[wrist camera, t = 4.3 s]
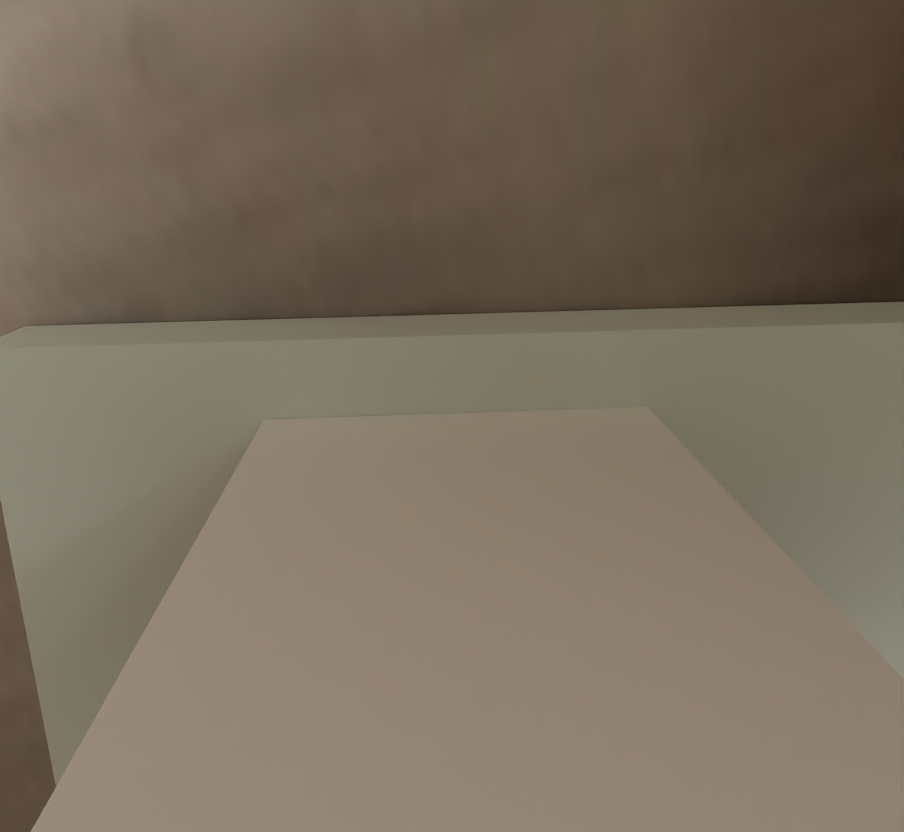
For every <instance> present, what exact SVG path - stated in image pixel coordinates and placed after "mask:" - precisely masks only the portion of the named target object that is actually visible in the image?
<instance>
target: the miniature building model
mask: <svg viewBox="0 0 904 832" xmlns="http://www.w3.org/2000/svg"><path fill="white" fill-rule="evenodd" d="M633 407H648V408H649V409H650V410H651V411H652V413H653V414H654V415H655V416H656V417H657V418H658V419H659V420H660V421H661V422H662V423H663V424H664V425H665V426H666V427H667V428H668V430H669V431H670V432H671V433H672V434H673V435H674V436H675V437H676V438H677V439H678V440H679V441H680V442H681V443H682V444H683V445H684V446H685V448H686V449H687V450H688V451H689V452H690V453H691V454H692V455H693V456H694V457H695V458H696V459H697V460H698V461H699V462H700V463H701V464H702V466H703V467H704V468H705V469H706V470H707V471H708V472H709V473H710V474H711V475H712V476H713V477H714V478H715V479H716V480H717V481H718V483H719V484H720V485H721V486H722V487H723V488H724V489H725V490H726V491H727V492H728V493H729V494H730V495H731V496H732V497H733V498H734V499H735V501H736V502H737V503H738V504H739V505H740V506H741V507H742V508H743V509H744V510H745V511H746V512H747V513H748V514H749V515H750V516H751V518H752V519H753V520H754V521H755V522H756V523H757V524H758V525H759V526H760V527H761V528H762V529H763V530H764V531H765V532H766V533H767V534H768V536H769V537H770V538H771V539H772V540H773V541H774V542H775V543H776V544H777V545H778V546H779V547H780V548H781V549H782V550H783V551H784V553H785V554H786V555H787V556H788V557H789V558H790V559H791V560H792V561H793V562H794V563H795V564H796V565H797V566H798V567H799V568H800V569H801V571H802V572H803V573H804V574H805V575H806V576H807V577H808V578H809V579H810V580H811V581H812V582H813V583H814V584H815V585H816V586H817V587H818V589H819V590H820V591H821V592H822V593H823V594H824V595H825V596H826V597H827V598H828V599H829V600H830V601H831V602H832V603H833V604H834V606H835V607H836V608H837V609H838V610H839V611H840V612H841V613H842V614H843V615H844V616H845V617H846V618H847V619H848V620H849V621H850V622H851V624H852V625H853V626H854V627H855V628H856V629H857V630H858V631H859V632H860V633H861V634H862V635H863V636H864V637H865V638H866V639H867V641H868V642H869V643H870V644H871V645H872V646H873V647H874V648H875V649H876V650H877V651H878V652H879V653H880V654H881V655H882V656H883V657H884V659H885V660H886V661H887V662H888V663H889V664H890V665H891V666H892V667H893V668H894V669H895V670H896V671H897V672H898V673H899V674H900V676H901V677H902V678H903V679H904V302H877V303H841V304H805V305H769V306H733V307H696V308H660V309H624V310H588V311H552V312H516V313H480V314H443V315H407V316H371V317H335V318H299V319H263V320H227V321H191V322H154V323H118V324H82V325H46V326H24V327H21V328H19V329H17V330H14V331H12V332H10V333H8V334H5V335H3V336H1V337H0V501H1V506H2V512H3V517H4V522H5V527H6V532H7V537H8V543H9V548H10V553H11V558H12V563H13V568H14V573H15V579H16V584H17V589H18V594H19V599H20V604H21V610H22V615H23V620H24V625H25V630H26V635H27V641H28V646H29V651H30V656H31V661H32V666H33V672H34V677H35V682H36V687H37V692H38V697H39V703H40V708H41V713H42V718H43V723H44V728H45V733H46V739H47V744H48V749H49V754H50V759H51V764H52V770H53V775H54V780H55V785H56V786H57V784H58V783H59V781H60V779H61V777H62V776H63V774H64V772H65V770H66V768H67V767H68V765H69V763H70V761H71V760H72V758H73V756H74V754H75V753H76V751H77V749H78V747H79V746H80V744H81V742H82V740H83V738H84V737H85V735H86V733H87V731H88V730H89V728H90V726H91V724H92V723H93V721H94V719H95V717H96V715H97V714H98V712H99V710H100V708H101V707H102V705H103V703H104V701H105V700H106V698H107V696H108V694H109V693H110V691H111V689H112V687H113V685H114V684H115V682H116V680H117V678H118V677H119V675H120V673H121V671H122V670H123V668H124V666H125V664H126V662H127V661H128V659H129V657H130V655H131V654H132V652H133V650H134V648H135V647H136V645H137V643H138V641H139V640H140V638H141V636H142V634H143V632H144V631H145V629H146V627H147V625H148V624H149V622H150V620H151V618H152V617H153V615H154V613H155V611H156V609H157V608H158V606H159V604H160V602H161V601H162V599H163V597H164V595H165V594H166V592H167V590H168V588H169V587H170V585H171V583H172V581H173V579H174V578H175V576H176V574H177V572H178V571H179V569H180V567H181V565H182V564H183V562H184V560H185V558H186V556H187V555H188V553H189V551H190V549H191V548H192V546H193V544H194V542H195V541H196V539H197V537H198V535H199V534H200V532H201V530H202V528H203V526H204V525H205V523H206V521H207V519H208V518H209V516H210V514H211V512H212V511H213V509H214V507H215V505H216V503H217V502H218V500H219V498H220V496H221V495H222V493H223V491H224V489H225V488H226V486H227V484H228V482H229V481H230V479H231V477H232V475H233V473H234V472H235V470H236V468H237V466H238V465H239V463H240V461H241V459H242V458H243V456H244V454H245V452H246V450H247V449H248V447H249V445H250V443H251V442H252V440H253V438H254V436H255V435H256V433H257V431H258V429H259V428H260V426H261V424H262V422H263V420H264V419H293V418H324V417H355V416H386V415H417V414H448V413H479V412H510V411H540V410H571V409H602V408H633Z"/></svg>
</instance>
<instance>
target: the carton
mask: <svg viewBox="0 0 904 832" xmlns="http://www.w3.org/2000/svg"><path fill="white" fill-rule="evenodd" d="M31 832H904V679H903V678H902V677H901V676H900V674H899V673H898V672H897V671H896V670H895V669H894V668H893V667H892V666H891V665H890V664H889V663H888V662H887V661H886V660H885V659H884V657H883V656H882V655H881V654H880V653H879V652H878V651H877V650H876V649H875V648H874V647H873V646H872V645H871V644H870V643H869V642H868V641H867V639H866V638H865V637H864V636H863V635H862V634H861V633H860V632H859V631H858V630H857V629H856V628H855V627H854V626H853V625H852V624H851V622H850V621H849V620H848V619H847V618H846V617H845V616H844V615H843V614H842V613H841V612H840V611H839V610H838V609H837V608H836V607H835V606H834V604H833V603H832V602H831V601H830V600H829V599H828V598H827V597H826V596H825V595H824V594H823V593H822V592H821V591H820V590H819V589H818V587H817V586H816V585H815V584H814V583H813V582H812V581H811V580H810V579H809V578H808V577H807V576H806V575H805V574H804V573H803V572H802V571H801V569H800V568H799V567H798V566H797V565H796V564H795V563H794V562H793V561H792V560H791V559H790V558H789V557H788V556H787V555H786V554H785V553H784V551H783V550H782V549H781V548H780V547H779V546H778V545H777V544H776V543H775V542H774V541H773V540H772V539H771V538H770V537H769V536H768V534H767V533H766V532H765V531H764V530H763V529H762V528H761V527H760V526H759V525H758V524H757V523H756V522H755V521H754V520H753V519H752V518H751V516H750V515H749V514H748V513H747V512H746V511H745V510H744V509H743V508H742V507H741V506H740V505H739V504H738V503H737V502H736V501H735V499H734V498H733V497H732V496H731V495H730V494H729V493H728V492H727V491H726V490H725V489H724V488H723V487H722V486H721V485H720V484H719V483H718V481H717V480H716V479H715V478H714V477H713V476H712V475H711V474H710V473H709V472H708V471H707V470H706V469H705V468H704V467H703V466H702V464H701V463H700V462H699V461H698V460H697V459H696V458H695V457H694V456H693V455H692V454H691V453H690V452H689V451H688V450H687V449H686V448H685V446H684V445H683V444H682V443H681V442H680V441H679V440H678V439H677V438H676V437H675V436H674V435H673V434H672V433H671V432H670V431H669V430H668V428H667V427H666V426H665V425H664V424H663V423H662V422H661V421H660V420H659V419H658V418H657V417H656V416H655V415H654V414H653V413H652V411H651V410H650V409H649V408H648V407H633V408H602V409H571V410H540V411H510V412H479V413H448V414H417V415H386V416H355V417H324V418H293V419H264V420H263V422H262V424H261V426H260V428H259V429H258V431H257V433H256V435H255V436H254V438H253V440H252V442H251V443H250V445H249V447H248V449H247V450H246V452H245V454H244V456H243V458H242V459H241V461H240V463H239V465H238V466H237V468H236V470H235V472H234V473H233V475H232V477H231V479H230V481H229V482H228V484H227V486H226V488H225V489H224V491H223V493H222V495H221V496H220V498H219V500H218V502H217V503H216V505H215V507H214V509H213V511H212V512H211V514H210V516H209V518H208V519H207V521H206V523H205V525H204V526H203V528H202V530H201V532H200V534H199V535H198V537H197V539H196V541H195V542H194V544H193V546H192V548H191V549H190V551H189V553H188V555H187V556H186V558H185V560H184V562H183V564H182V565H181V567H180V569H179V571H178V572H177V574H176V576H175V578H174V579H173V581H172V583H171V585H170V587H169V588H168V590H167V592H166V594H165V595H164V597H163V599H162V601H161V602H160V604H159V606H158V608H157V609H156V611H155V613H154V615H153V617H152V618H151V620H150V622H149V624H148V625H147V627H146V629H145V631H144V632H143V634H142V636H141V638H140V640H139V641H138V643H137V645H136V647H135V648H134V650H133V652H132V654H131V655H130V657H129V659H128V661H127V662H126V664H125V666H124V668H123V670H122V671H121V673H120V675H119V677H118V678H117V680H116V682H115V684H114V685H113V687H112V689H111V691H110V693H109V694H108V696H107V698H106V700H105V701H104V703H103V705H102V707H101V708H100V710H99V712H98V714H97V715H96V717H95V719H94V721H93V723H92V724H91V726H90V728H89V730H88V731H87V733H86V735H85V737H84V738H83V740H82V742H81V744H80V746H79V747H78V749H77V751H76V753H75V754H74V756H73V758H72V760H71V761H70V763H69V765H68V767H67V768H66V770H65V772H64V774H63V776H62V777H61V779H60V781H59V783H58V784H57V786H56V788H55V790H54V791H53V793H52V795H51V797H50V799H49V800H48V802H47V804H46V806H45V807H44V809H43V811H42V813H41V814H40V816H39V818H38V820H37V821H36V823H35V825H34V827H33V829H32V830H31Z"/></svg>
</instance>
